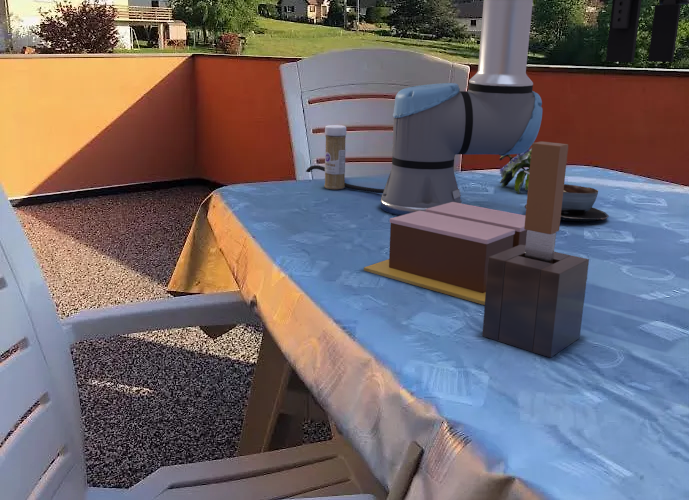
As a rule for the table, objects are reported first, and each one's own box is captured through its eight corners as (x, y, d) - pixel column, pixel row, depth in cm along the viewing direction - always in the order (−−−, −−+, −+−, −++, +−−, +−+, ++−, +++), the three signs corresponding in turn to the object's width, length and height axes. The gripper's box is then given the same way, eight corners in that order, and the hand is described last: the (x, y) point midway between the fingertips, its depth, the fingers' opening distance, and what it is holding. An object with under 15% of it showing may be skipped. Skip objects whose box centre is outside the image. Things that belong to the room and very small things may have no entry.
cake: (363, 270, 98) (365, 218, 96) (444, 243, 113) (447, 197, 111) (489, 306, 86) (494, 247, 83) (563, 270, 100) (568, 219, 98)
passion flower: (503, 210, 160) (499, 162, 164) (553, 205, 157) (548, 156, 161) (498, 190, 150) (494, 140, 154) (552, 184, 147) (546, 133, 151)
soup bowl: (560, 229, 123) (564, 187, 121) (504, 209, 137) (507, 171, 135) (625, 222, 128) (631, 182, 126) (566, 204, 142) (570, 167, 140)
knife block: (481, 336, 77) (488, 256, 74) (513, 318, 82) (520, 244, 79) (550, 358, 72) (559, 273, 69) (579, 338, 77) (589, 259, 74)
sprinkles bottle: (320, 188, 153) (320, 125, 150) (333, 185, 157) (334, 124, 153) (336, 191, 151) (337, 127, 147) (349, 188, 154) (350, 125, 150)
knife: (513, 335, 77) (531, 142, 71) (522, 330, 79) (541, 141, 73) (539, 343, 75) (559, 146, 69) (547, 338, 77) (568, 144, 71)
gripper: (668, -183, 63) (636, 63, 69) (735, -128, 82) (706, 62, 87) (586, -168, 68) (563, 61, 74) (667, -120, 86) (644, 60, 92)
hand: (641, 62), depth 81 cm, fingers open, 13 cm apart
